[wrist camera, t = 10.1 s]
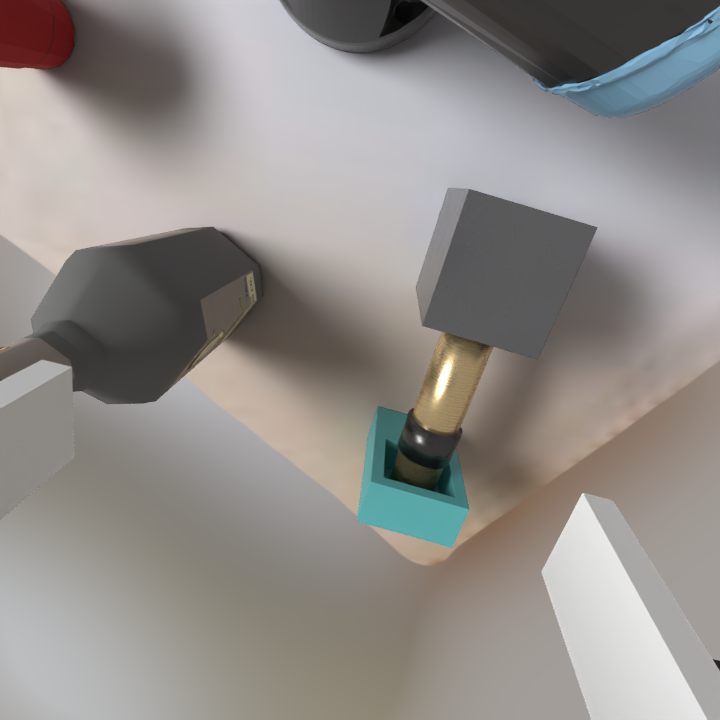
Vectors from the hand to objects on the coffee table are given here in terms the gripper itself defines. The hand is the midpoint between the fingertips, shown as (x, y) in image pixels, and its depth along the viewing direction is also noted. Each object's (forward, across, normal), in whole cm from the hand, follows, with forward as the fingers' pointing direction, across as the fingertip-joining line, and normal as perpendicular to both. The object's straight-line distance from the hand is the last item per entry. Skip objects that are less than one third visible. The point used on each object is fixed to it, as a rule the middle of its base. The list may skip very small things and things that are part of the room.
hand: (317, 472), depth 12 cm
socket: (+32, +7, -17) cm, 37 cm away
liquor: (+33, -15, -6) cm, 37 cm away
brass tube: (+26, +8, -9) cm, 28 cm away
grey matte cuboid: (+33, +8, +2) cm, 34 cm away
